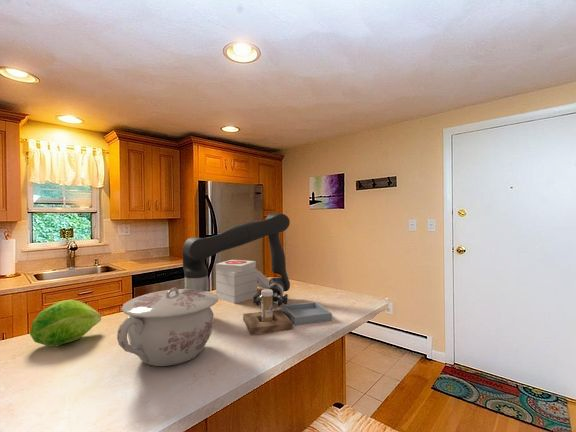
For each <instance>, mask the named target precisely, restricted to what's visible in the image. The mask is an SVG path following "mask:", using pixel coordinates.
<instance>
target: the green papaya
mask: <svg viewBox="0 0 576 432" xmlns="http://www.w3.org/2000/svg"><path fill="white" fill-rule="evenodd" d="M101 321H102V315H101V314H100V312H98V311H97V310H95V308H94V307H92V306H90V305H89V304H87V303H85V302H82V301H80V300H76V299H75V300H74V299H68V300H67V299H65V300H61V301H57V302H54V303H53V304H51V305H50V306H48V307H46V308H45V309H43V310H41V311H40V312H39V313H38V314H37V316H36V317H35V318H34V319H33V321H32V323H31V327H30V333H29V335H30V337H31V338H32V340H33V342H34V343H37V344H40V345H42V346H43V345H44V346H49V347H58V346H61V345H65V344H68V343H70V342H74V341H77V340H79V339H80V338H82V337H84V336H85V335H86V334H87V333H88V332H89V331H90V330H91V329H92V328H94V327H95V326H96V325H98V324H99V323H100V322H101Z"/></svg>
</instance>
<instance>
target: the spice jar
mask: <svg viewBox="0 0 576 432" xmlns="http://www.w3.org/2000/svg"><path fill="white" fill-rule="evenodd" d="M260 295H261V296H262V303H260V304H261V307H260V308H261V311H260V312H261V316H262V322H269V321H274V320H273V311H274V309H273V308H274V307H273V305H274V304H273V302H272V295H273V290H270V289H265V288H263V289H261V292H260Z"/></svg>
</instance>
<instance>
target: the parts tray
mask: <svg viewBox="0 0 576 432" xmlns="http://www.w3.org/2000/svg"><path fill="white" fill-rule="evenodd" d="M281 306H282V309H281V311H282V312H283V313H284V314H285V315H286V316H287V317H288V318H289V319H290V320H291V321H292V322H293V326H298V325H306V324H315V323H322V322H330V321H332V318H333V313H332V312H331V311H329V310H328V309H327V308H325V307H324V306H322V305H321V304H320V303H318V302H317V301H313V302H301V303H291V304H282V305H281Z"/></svg>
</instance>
